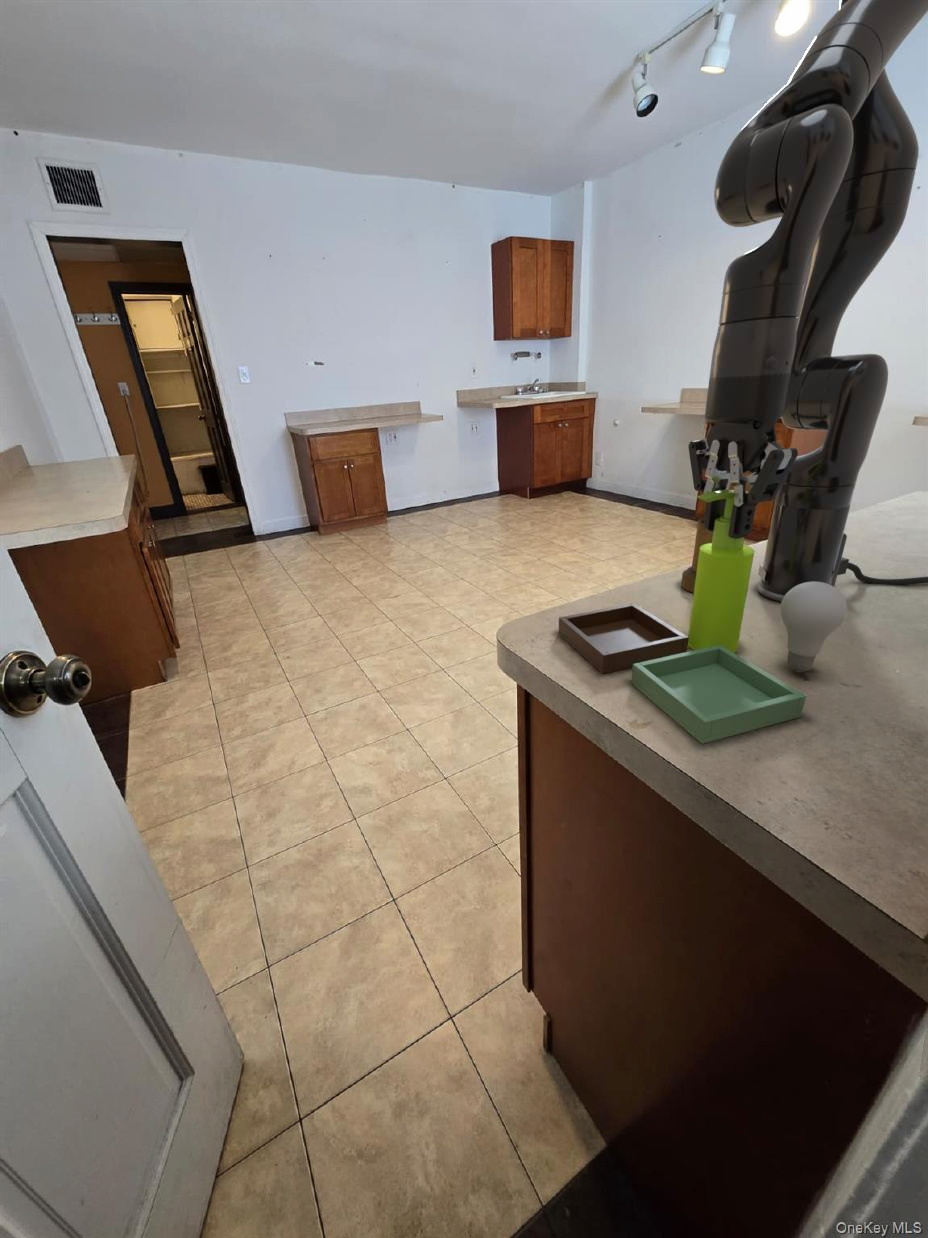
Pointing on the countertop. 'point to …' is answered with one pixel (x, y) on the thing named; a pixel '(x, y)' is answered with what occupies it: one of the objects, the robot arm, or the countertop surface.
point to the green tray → (716, 693)
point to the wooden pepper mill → (696, 555)
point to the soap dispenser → (720, 583)
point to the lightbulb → (810, 620)
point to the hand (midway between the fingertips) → (725, 532)
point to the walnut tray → (621, 637)
